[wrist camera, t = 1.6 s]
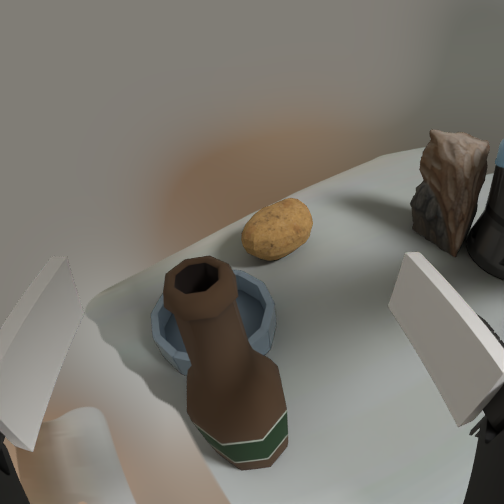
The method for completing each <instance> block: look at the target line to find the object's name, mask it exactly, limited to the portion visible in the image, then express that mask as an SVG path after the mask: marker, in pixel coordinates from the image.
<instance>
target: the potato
mask: <svg viewBox="0 0 504 504" xmlns="http://www.w3.org/2000/svg"><path fill="white" fill-rule="evenodd" d="M312 225H313V221H312V216H311V214H310V211H309V209H308V208H307V206H306V205H305V204H304V203H302V202H301V201H299V200H298V199H293V198H288V199H284V200H282V201H279V202H277V203H275V204H272V205H270V206H267V207H264V208H262V209H261V210H259V211H258V212H257V213H256V214H254V215H253V216H252V218H251V219H250V220H249V221H248V222H247V223H246V225H245V227H244V229H243V232H242V239H241V240H242V244H243V247H244V248H245V250H246V251H247V253H249V254H251V255H253V256H256V257H258V258H260V259H264V260H268V261H270V260H277V259H280V258H282V257H285V256H286V255H288V254H290V253H292V252H293V251H294V250H296V249H297V248H299V247H300V246H301V245H303V244H304V243H305V242H306V241H307V239H308V238H309V236H310V232H311V228H312Z"/></svg>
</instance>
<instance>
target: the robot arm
mask: <svg viewBox="0 0 504 504" xmlns="http://www.w3.org/2000/svg"><path fill="white" fill-rule="evenodd" d="M495 164H496V166H495V171H494V175H493V180H492V184H491V188H490V192H489V196H488V200H487V204H486V207H485V210H484V211H483V213H482V214H481V216H480V217H479V219H478V220H477V222H476V223H475V224H474V226H473V227H472V229H471V231H470V233H469V236H468V239H467V249H468V252H469V254H470V256H471V257H472V258H473V260H474V261H475V262H476V263H477V264H478V265H479V266H480V267H481V268H483V269H484V270H485V271H487V272H488V273H490V274H492V275H494V276H496V277H498V278H501V279H504V139H503V140H502V141H501V143H500V146H499V150H498V155H497V158H496V159H495ZM388 307H389V309H390V310H391V312H392V314H393V315H394V317H395V318H396V320H397V321H398V323H399V324H400V326H401V328H402V329H403V331H404V332H405V334H406V336H407V337H408V339H409V341H410V342H411V344H412V346H413V347H414V349H415V350H416V352H417V354H418V355H419V357H420V359H421V361H422V362H423V364H424V366H425V367H426V369H427V371H428V373H429V374H430V376H431V378H432V380H433V381H434V383H435V385H436V387H437V389H438V390H439V392H440V394H441V396H442V398H443V399H444V401H445V403H446V405H447V407H448V409H449V411H450V413H451V414H452V416H453V418H454V420H455V422H456V424H457V426H458V427H460V426H462V425H464V424H467V423H469V422H471V421H473V420H474V419H475V418H476V417H477V416H478V415H479V413H480V412H481V411H482V410H483V411H484V413H485V416H484V417H483V418H482V419H481V420H480V421H479V422H478V423H477V425H476V426H475V427H474V428H473V429H472V430H471V432H470V434H469V435H473V434H474V433H475V432H476V431H477V430H478V429H479V428H480V431H479V432H478V433H477V434H476V435H475V437H478V443H477V449H476V454H475V459H474V464H473V469H472V473H471V477H470V481H469V485H468V489H467V492H466V496H465V499H464V503H463V504H504V343H503V341H502V340H500V338H499V336H498V335H497V334H496V333H494V330H493V329H492V328H491V326H490V325H489V324H488V323H487V322H486V321H485V320H484V319H483V318H481V317H480V316H479V315H477V314H476V313H475V312H474V311H473V310H472V309H471V307H470V306H469V305H468V304H467V303H466V302H465V300H464V299H463V298H462V297H461V296H460V295H459V294H458V292H457V291H456V290H455V289H454V288H453V287H452V286H451V285H450V284H449V283H448V281H447V280H446V279H445V278H444V277H443V276H442V275H441V274H440V273H439V272H438V271H437V270H436V269H435V268H434V267H433V265H432V264H431V263H430V262H429V261H428V260H427V259H426V258H425V257H424V256H423V255H422V254H421V253H420V252H405V254H404V258H403V261H402V264H401V268H400V271H399V274H398V277H397V280H396V283H395V286H394V289H393V292H392V295H391V298H390V301H389V304H388ZM84 314H85V313H84V310H83V307H82V304H81V301H80V298H79V295H78V292H77V289H76V286H75V282H74V279H73V275H72V272H71V268H70V265H69V261H68V258H67V257H51V258H50V259H49V260H48V262H47V263H46V264H45V265H44V267H43V268H42V269H41V271H40V272H39V273H38V275H37V276H36V278H35V279H34V280H33V281H32V283H31V284H30V285H29V287H28V288H27V290H26V291H25V293H24V294H23V295H22V297H21V298H20V300H19V301H18V302H17V304H16V305H15V307H14V309H13V310H12V311H11V313H10V314H9V316H8V317H7V319H6V321H5V322H4V323H3V325H2V327H1V328H0V504H30V503H29V501H28V498H27V496H26V494H25V492H24V490H23V487H22V485H21V483H20V481H19V478H18V476H17V473H16V471H15V468H14V466H13V463H12V461H11V458H10V455H9V452H8V450H7V448H6V446H5V445H4V444H3V441H4V438H5V437H6V438H7V439H8V440H9V441H10V442H11V443H12V444H13V445H14V446H16V447H19V448H22V449H25V450H28V451H31V452H33V450H34V447H35V443H36V440H37V436H38V433H39V430H40V426H41V423H42V420H43V417H44V414H45V410H46V408H47V405H48V402H49V399H50V396H51V393H52V391H53V388H54V385H55V383H56V380H57V377H58V375H59V372H60V370H61V367H62V365H63V362H64V360H65V357H66V355H67V352H68V350H69V347H70V345H71V343H72V340H73V338H74V336H75V333H76V331H77V329H78V327H79V324H80V322H81V320H82V318H83V316H84Z"/></svg>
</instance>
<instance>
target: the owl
mask: <svg viewBox="0 0 504 504" xmlns="http://www.w3.org/2000/svg"><path fill="white" fill-rule="evenodd" d="M430 137H431V141H430V142H429V143H428V145H427V146H426V148H425V149H424V151H423V156H422V157H421V161H420V169H419V170H420V172H421V174H422V177H423V180H424V181H423V182H422V183H421V184H420V185H419V186H417V187H416V193H415V195H414V196H413V198H412V200H411V203H410V205H411V207H412V217H413V227H412V228H413V230H414V231H415V232H417V233H418V234H420V235H422V236H424V237H425V238H426V239H427V240H429V241H431V242H432V243H434V244H436V245H437V246H438V247H439V248H440V249H442V250H443V251H446V252H448V253H449V254H450V255H452V256H454V257H456V255H457V253H458V250H459V249H460V247H461V245H462V243H463V242H464V239H465V237H466V235H467V233H468V231H469V230H470V227H471V225H472V222H473V220H474V217H475V215H476V212H477V202H478V196H479V193H480V190H481V188H482V185H483V183H484V181H485V176H486V172H487V156H488V153H489V149H490V146H489V143H488V141H487V140H480V139H478V138H474V137H473V136H471V135H469V134H466V133H463V132H457V133H450V132H448V133H445V132H442V131H440V130H433V129H432V130H430Z"/></svg>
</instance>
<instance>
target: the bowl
mask: <svg viewBox="0 0 504 504" xmlns="http://www.w3.org/2000/svg"><path fill="white" fill-rule="evenodd" d="M233 272H234V274H235V275H236V282H237V290H238V297H237V298H236V302H237V306H238V309H239V312H240V316H241V319H242V322H243V325H244V329H245V332H246V335H247V338H248V341H249V343H250V345H251V347H252V349H253V350H255V351H257V352H259V353H260V354H262V355H265V354H266V353H267V352H268V351H269V350H270V348H271V345H272V341H273V337H274V332H275V328H276V313H275V303H274V301H273V299H272V297H271V295H270V293H269V291H268V289H267V287H266V285H265V283H263V282H262V281H260V280H259V279H257V278H255V277H253V276H251V275H249V274H247V273H246V272H244V271H241V270H233ZM151 323H152V334H153V339H154V341H155V342H156V344H157V346H158V348H159V350H160V351H161V353H162V355H163V356H164V357H165V358H166V359H167V360H168V361H169V362H170V363H171V364H172V365H173V366H174V367H175V368H176V369H177V370H178V371H179V372H180V373H181V374H183V375H187V373H188V369H189V368H190V367H191V366H192V365H191V362H190V359H189V357H188V354H187V351H186V348H185V345H184V343H183V340H182V337H181V334H180V331H179V328H178V325H177V322H176V319H175V316H174V314H173V313H171V312H170V311H168V310H167V309H166V308H164V300H163V293H162V295H161V297H160V299H159V300H158V302H157V304H156V306H155V307H154V309H153V311H152V313H151Z"/></svg>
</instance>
